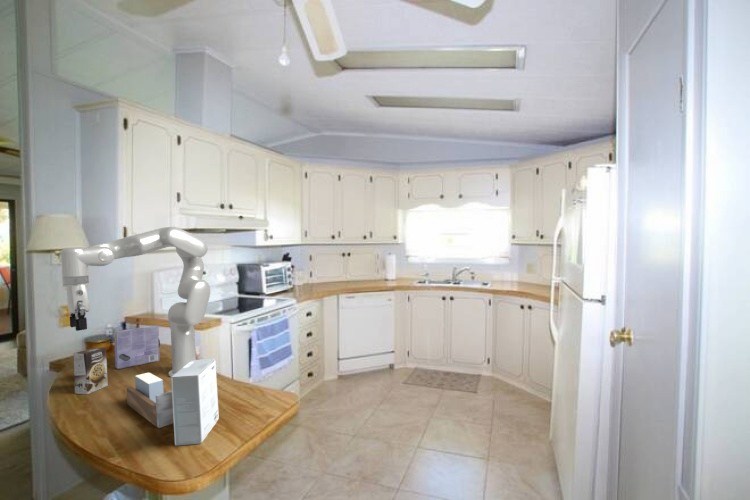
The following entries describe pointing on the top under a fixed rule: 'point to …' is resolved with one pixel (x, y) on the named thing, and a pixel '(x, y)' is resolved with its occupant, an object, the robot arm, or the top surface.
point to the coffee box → (90, 370)
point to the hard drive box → (194, 401)
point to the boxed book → (149, 385)
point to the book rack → (152, 407)
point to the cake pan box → (136, 346)
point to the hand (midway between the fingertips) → (78, 328)
